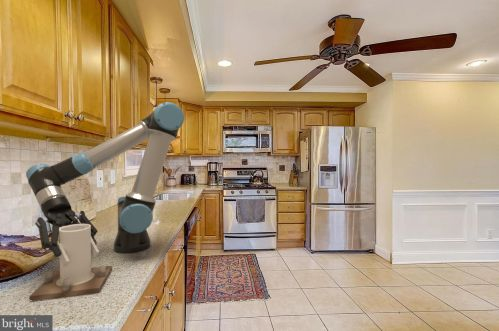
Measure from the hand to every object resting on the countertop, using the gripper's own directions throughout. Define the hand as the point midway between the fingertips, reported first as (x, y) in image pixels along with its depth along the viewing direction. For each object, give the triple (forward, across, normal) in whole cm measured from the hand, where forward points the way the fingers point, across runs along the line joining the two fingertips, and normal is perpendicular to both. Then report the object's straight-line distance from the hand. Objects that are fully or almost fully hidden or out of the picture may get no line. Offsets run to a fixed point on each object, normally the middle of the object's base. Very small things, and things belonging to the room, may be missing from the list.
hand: (82, 258), depth 80 cm
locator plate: (+4, 0, -8) cm, 9 cm away
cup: (+2, 0, -7) cm, 8 cm away
